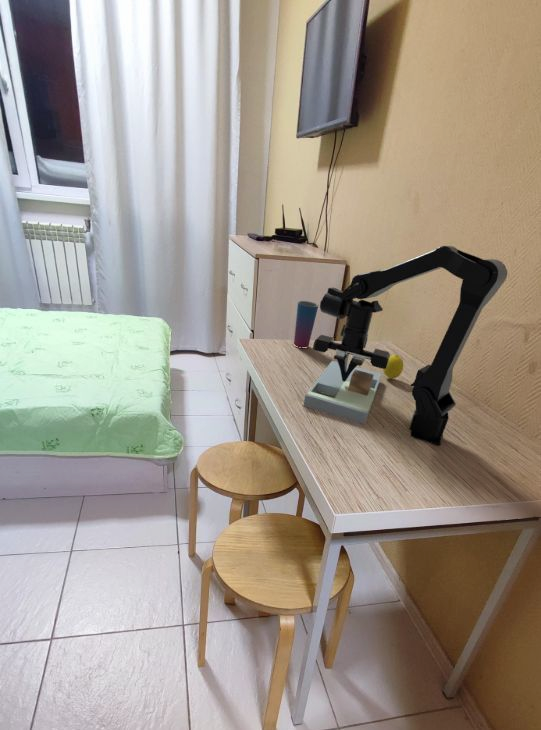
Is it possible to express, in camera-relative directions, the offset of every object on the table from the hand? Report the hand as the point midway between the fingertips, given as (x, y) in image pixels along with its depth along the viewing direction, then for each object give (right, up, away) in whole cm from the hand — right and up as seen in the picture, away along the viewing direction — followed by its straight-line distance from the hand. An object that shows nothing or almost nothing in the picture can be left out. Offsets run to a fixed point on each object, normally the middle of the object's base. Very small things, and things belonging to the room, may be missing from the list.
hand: (344, 380), depth 99 cm
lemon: (+16, 0, +14) cm, 22 cm away
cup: (-9, +11, +31) cm, 34 cm away
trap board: (+1, -3, +2) cm, 4 cm away
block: (+4, -2, -1) cm, 4 cm away
